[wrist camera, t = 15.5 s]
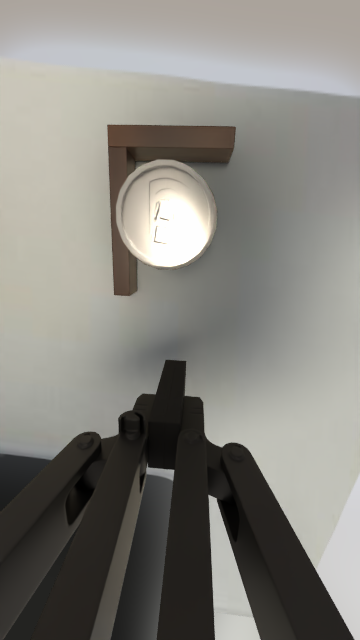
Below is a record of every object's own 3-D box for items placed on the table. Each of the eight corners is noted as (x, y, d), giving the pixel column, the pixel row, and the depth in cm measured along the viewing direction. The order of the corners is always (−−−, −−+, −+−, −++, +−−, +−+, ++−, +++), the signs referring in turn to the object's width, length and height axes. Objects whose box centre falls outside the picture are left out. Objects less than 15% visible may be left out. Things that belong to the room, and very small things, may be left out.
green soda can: (199, 267, 24) (206, 280, 12) (147, 257, 24) (105, 260, 12) (211, 211, 22) (231, 165, 11) (156, 200, 22) (117, 142, 11)
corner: (229, 143, 21) (236, 126, 18) (217, 294, 25) (221, 300, 22) (118, 141, 21) (107, 124, 18) (123, 290, 25) (113, 295, 22)
